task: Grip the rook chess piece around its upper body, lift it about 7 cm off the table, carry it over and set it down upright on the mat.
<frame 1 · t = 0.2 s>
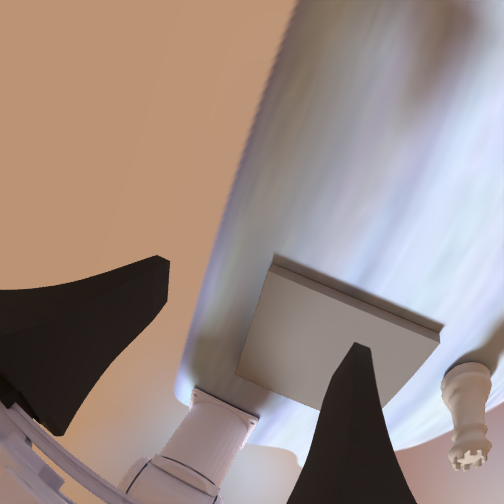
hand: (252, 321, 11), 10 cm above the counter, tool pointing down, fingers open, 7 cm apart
mat: (328, 355, 24), on the counter
rook chess piece: (465, 376, 20), on the counter
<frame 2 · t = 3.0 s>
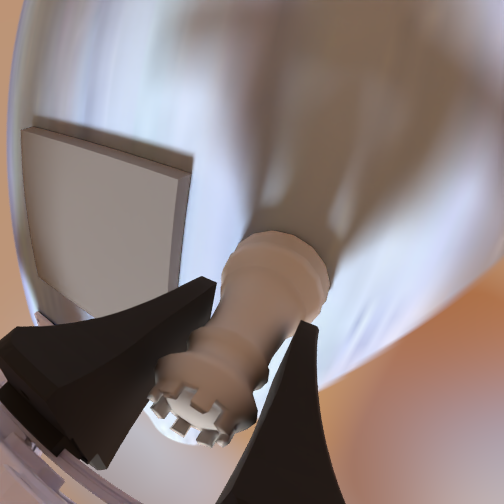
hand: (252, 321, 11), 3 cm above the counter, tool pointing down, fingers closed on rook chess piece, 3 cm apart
mat: (92, 237, 18), on the counter
rook chess piece: (282, 271, 14), on the counter, touching gripper
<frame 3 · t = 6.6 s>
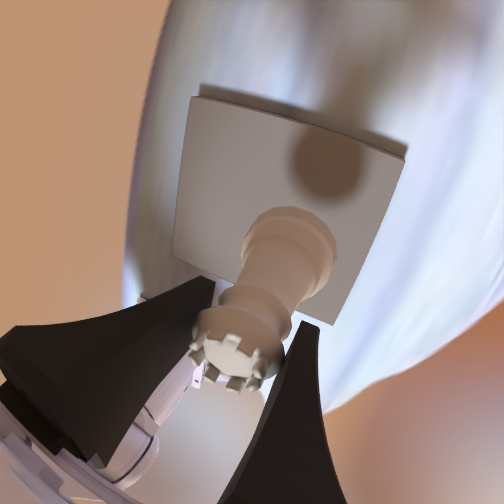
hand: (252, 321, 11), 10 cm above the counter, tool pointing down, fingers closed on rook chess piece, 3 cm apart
mat: (272, 210, 21), on the counter
rook chess piece: (294, 243, 16), point 5 cm above the counter, touching gripper
when the fingers open (6 cm above the counter, at t = 9.0 s): rook chess piece stays where it is, resting on mat.
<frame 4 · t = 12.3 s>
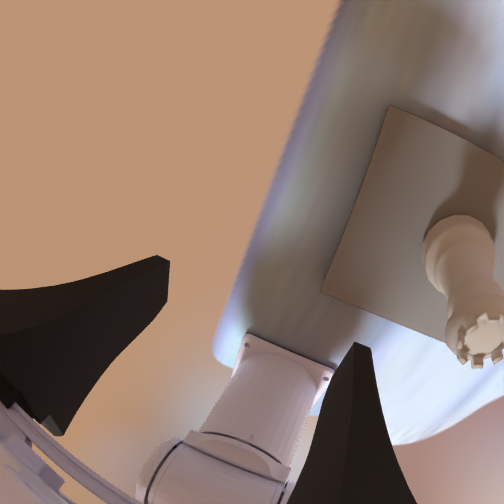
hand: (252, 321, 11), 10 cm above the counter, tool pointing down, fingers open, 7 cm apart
mat: (451, 245, 17), on the counter
rook chess piece: (455, 247, 16), point 1 cm above the counter, touching mat
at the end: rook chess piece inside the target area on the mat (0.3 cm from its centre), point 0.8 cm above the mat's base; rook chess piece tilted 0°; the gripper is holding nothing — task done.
